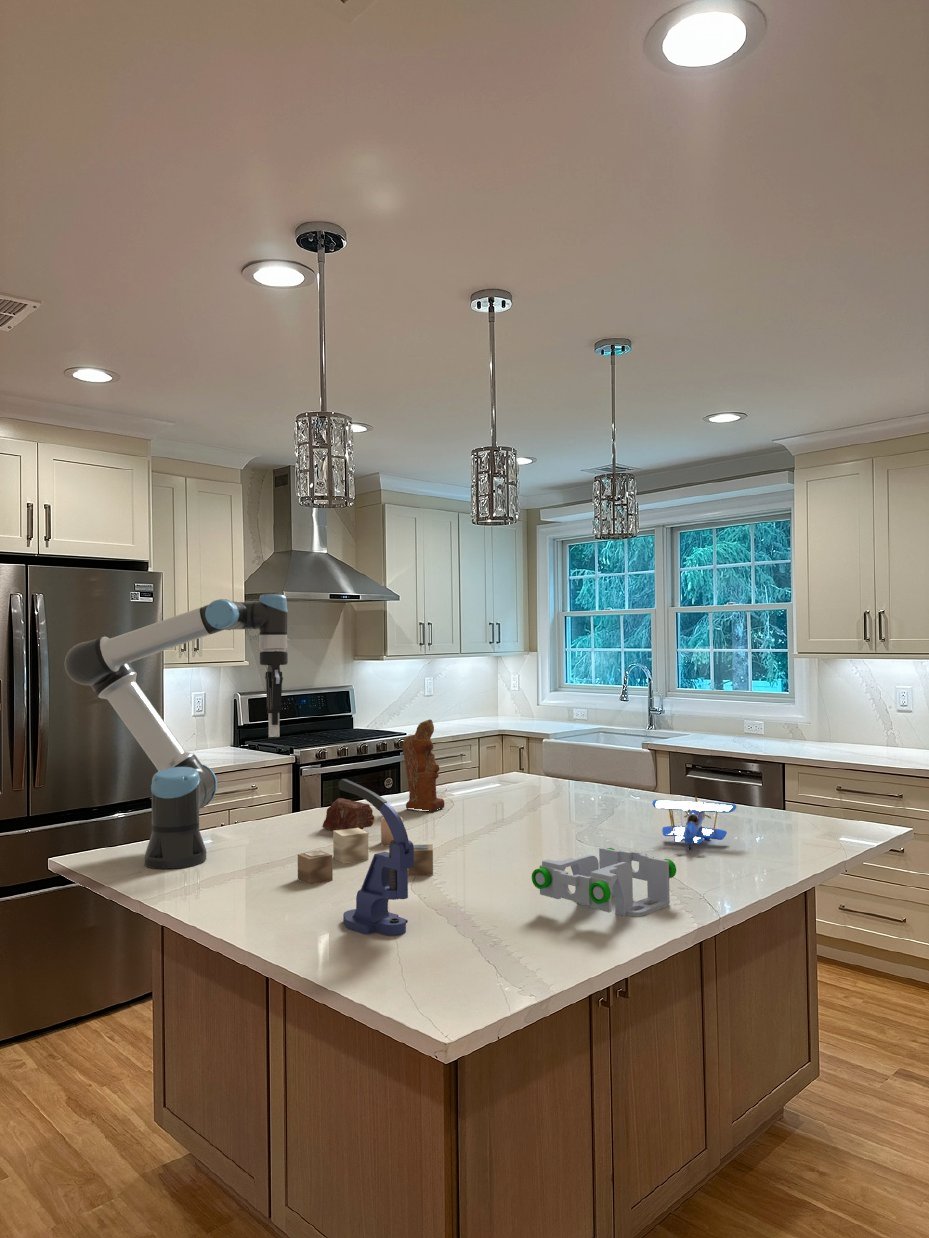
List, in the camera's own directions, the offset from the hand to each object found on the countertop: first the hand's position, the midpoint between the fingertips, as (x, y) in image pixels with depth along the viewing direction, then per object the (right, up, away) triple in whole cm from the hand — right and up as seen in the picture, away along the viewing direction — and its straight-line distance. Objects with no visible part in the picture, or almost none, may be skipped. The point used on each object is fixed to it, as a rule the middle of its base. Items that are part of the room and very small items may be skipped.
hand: (274, 736), depth 237 cm
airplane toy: (+115, -29, -2) cm, 118 cm away
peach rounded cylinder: (+32, -30, +4) cm, 44 cm away
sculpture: (+39, -32, +52) cm, 72 cm away
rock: (+17, -31, +20) cm, 41 cm away
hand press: (+34, -28, -67) cm, 80 cm away
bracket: (+82, -28, -57) cm, 103 cm away
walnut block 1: (+17, -29, -33) cm, 47 cm away
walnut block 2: (+42, -29, -27) cm, 58 cm away
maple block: (+23, -30, -13) cm, 40 cm away
